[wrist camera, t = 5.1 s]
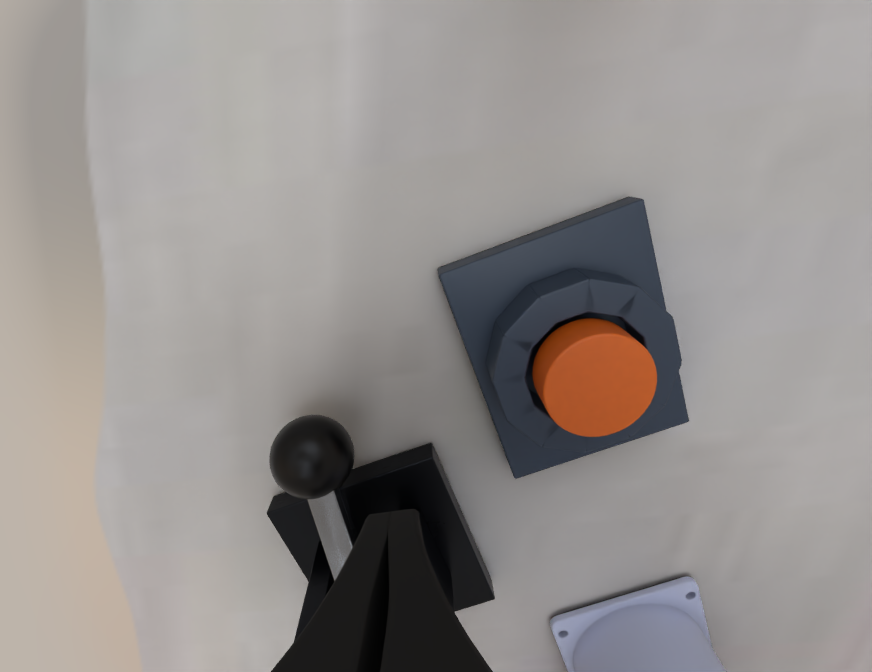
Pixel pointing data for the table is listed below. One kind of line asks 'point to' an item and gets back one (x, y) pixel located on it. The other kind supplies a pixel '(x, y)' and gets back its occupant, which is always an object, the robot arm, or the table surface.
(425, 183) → the table surface
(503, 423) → the button box
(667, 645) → the robot arm
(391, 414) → the table surface
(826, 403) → the table surface
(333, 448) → the switch lever
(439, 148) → the table surface
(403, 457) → the switch bracket
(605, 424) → the button
